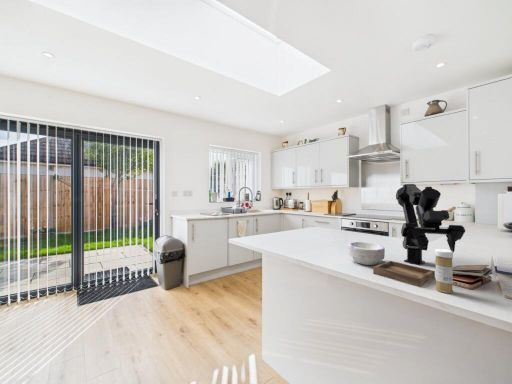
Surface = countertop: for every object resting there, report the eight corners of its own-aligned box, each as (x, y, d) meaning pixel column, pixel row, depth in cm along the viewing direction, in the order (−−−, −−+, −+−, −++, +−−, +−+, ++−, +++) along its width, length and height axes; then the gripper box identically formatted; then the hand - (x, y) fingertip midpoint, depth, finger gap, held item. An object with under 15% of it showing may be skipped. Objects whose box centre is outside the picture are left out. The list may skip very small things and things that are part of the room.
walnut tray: (390, 266, 101) (390, 260, 101) (434, 278, 88) (434, 271, 88) (373, 273, 93) (373, 266, 93) (419, 286, 80) (419, 279, 80)
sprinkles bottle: (450, 289, 78) (450, 249, 78) (454, 295, 74) (454, 252, 74) (433, 287, 80) (433, 247, 80) (436, 292, 76) (436, 250, 76)
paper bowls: (389, 268, 99) (389, 249, 99) (351, 266, 102) (351, 248, 102) (378, 258, 114) (378, 242, 114) (345, 256, 117) (345, 240, 117)
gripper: (402, 202, 90) (410, 235, 80) (462, 202, 84) (479, 239, 73) (398, 220, 98) (404, 253, 87) (453, 222, 91) (467, 257, 81)
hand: (437, 250), depth 82 cm, fingers open, 9 cm apart
